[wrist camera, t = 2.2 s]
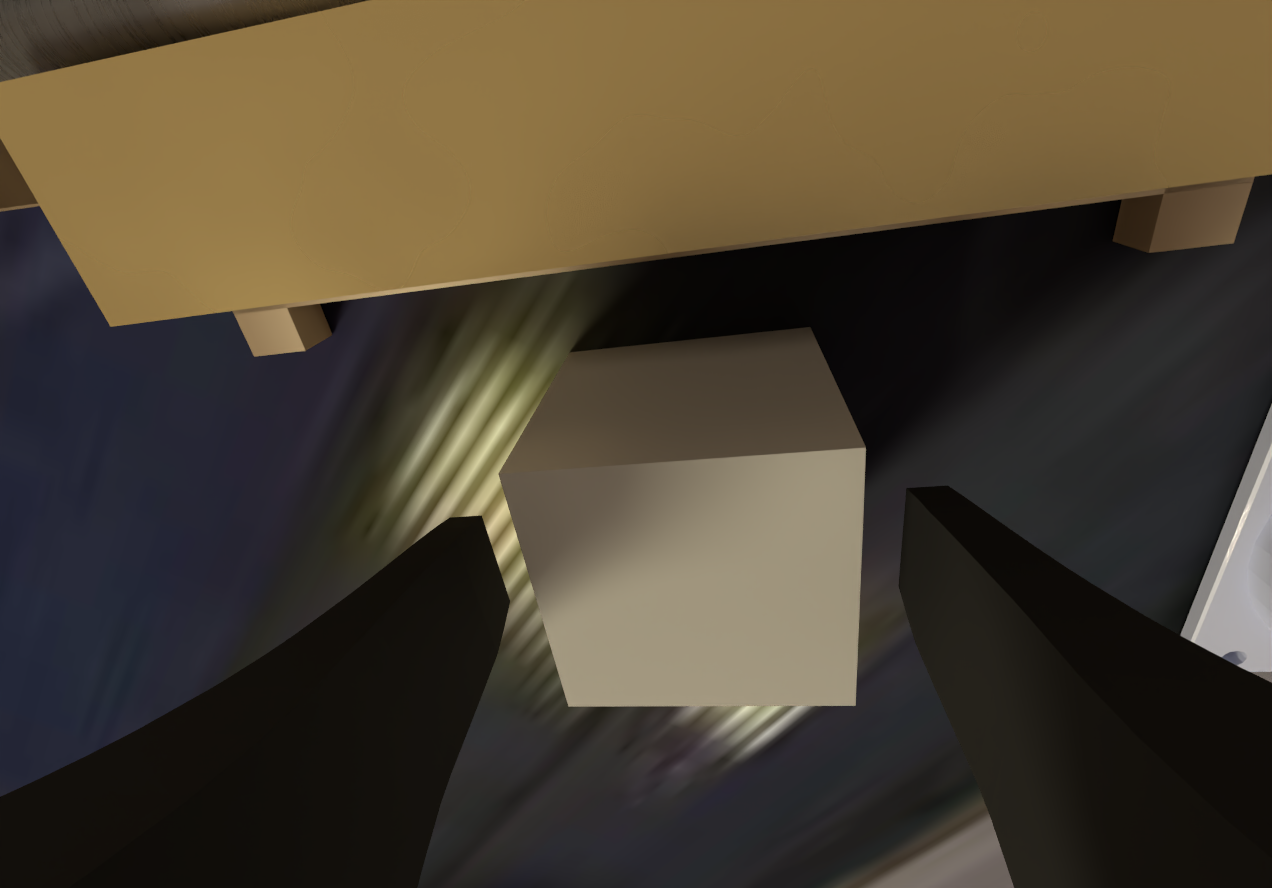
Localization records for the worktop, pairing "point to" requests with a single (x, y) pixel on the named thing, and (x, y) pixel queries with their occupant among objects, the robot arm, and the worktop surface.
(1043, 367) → the worktop surface
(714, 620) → the stone block
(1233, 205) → the frame
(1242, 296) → the worktop surface
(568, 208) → the trapdoor
